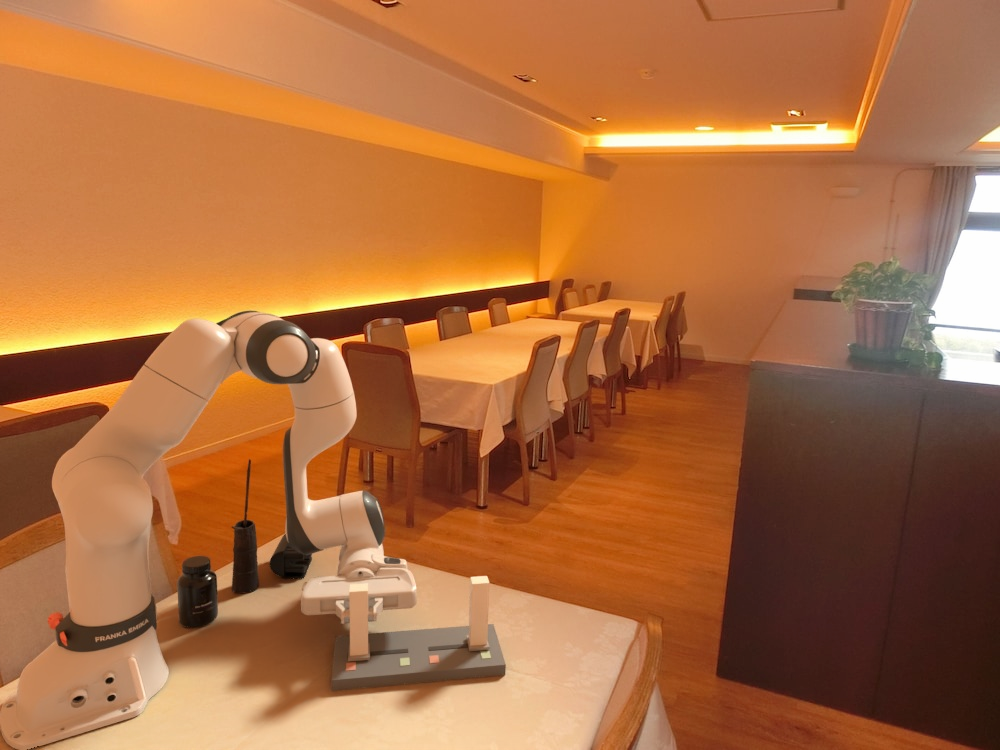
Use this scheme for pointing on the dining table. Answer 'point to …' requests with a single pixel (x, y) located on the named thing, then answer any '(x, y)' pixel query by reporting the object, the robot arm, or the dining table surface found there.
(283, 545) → the end cap
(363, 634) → the breaker lever
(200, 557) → the supplement bottle
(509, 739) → the dining table surface
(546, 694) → the dining table surface
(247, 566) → the butter churn
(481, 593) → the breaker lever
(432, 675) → the breaker panel
